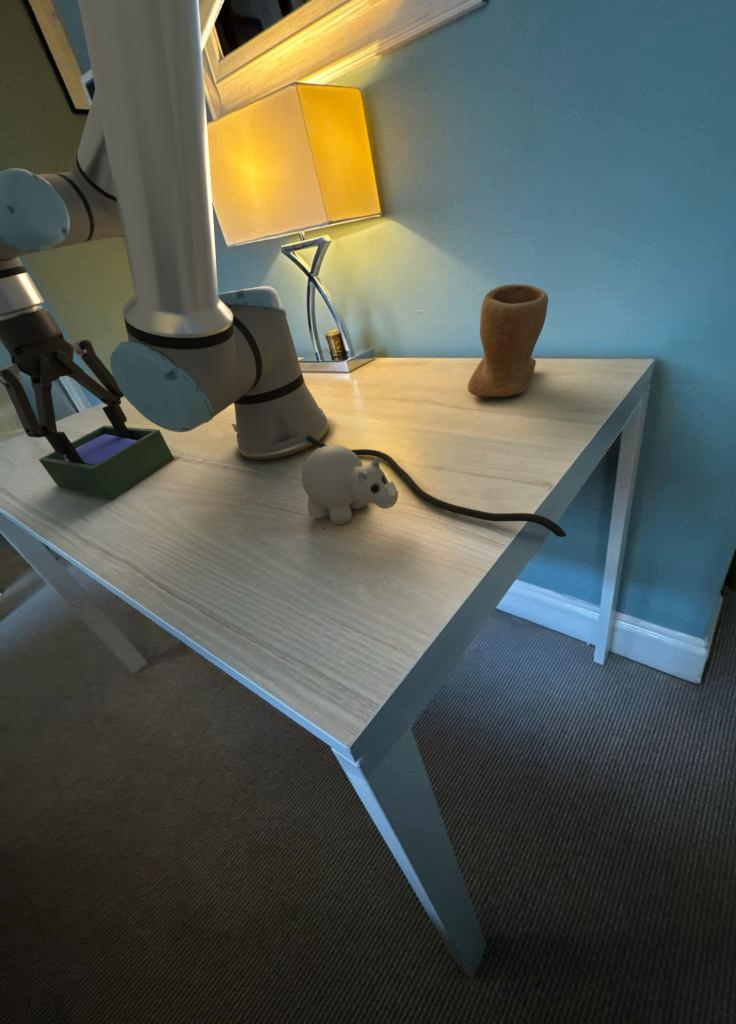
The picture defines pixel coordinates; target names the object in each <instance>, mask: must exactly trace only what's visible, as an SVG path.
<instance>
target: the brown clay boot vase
mask: <svg viewBox="0 0 736 1024" xmlns="http://www.w3.org/2000/svg"><path fill="white" fill-rule="evenodd" d="M548 304H549V297H548V294H547V293H546V291H545V290H543V289H542V288H539V287H536V286H534V285H530V284H522V283H521V284H519V283H513V284H504V285H500V286H497V287H495V288H493V289H492V288H491V290H489V291H488V292H487V293H486V294H485V296H484V298H483V299H482V304H481V308H480V318H479V324H480V325H479V337H480V342H481V346H482V349H483V354H484V356H483V357H482V359H481V360H480V362H478V365H477V366H476V368H475V369H474V371H473V373H472V375H471V376H470V378H469V381H468V384H467V391H468V392H469V394H471V395H474V396H477V397H482V398H506V397H511V396H518V395H520V394H522V393H523V392H525V391H526V390H527V388H528V387H529V385H530V384H531V382H532V381H533V377H534V373H535V368H536V364H537V361H536V359H534V358H533V357H532V356H533V352H534V350H535V347H536V345H537V342H538V339H539V337H540V335H541V333H542V331H543V329H544V326H545V325H544V324H545V321H546V318H547V311H548Z"/></svg>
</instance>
